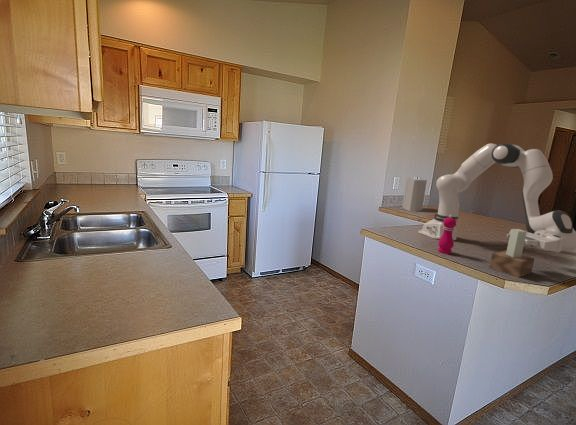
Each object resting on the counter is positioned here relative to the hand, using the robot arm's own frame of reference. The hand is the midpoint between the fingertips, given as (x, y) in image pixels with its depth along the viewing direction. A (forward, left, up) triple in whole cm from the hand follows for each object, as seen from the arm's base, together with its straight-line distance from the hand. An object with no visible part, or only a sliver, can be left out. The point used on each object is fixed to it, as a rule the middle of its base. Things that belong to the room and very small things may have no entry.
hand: (516, 238), depth 142 cm
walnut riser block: (0, 0, -15) cm, 15 cm away
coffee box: (-11, +62, -15) cm, 65 cm away
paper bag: (-121, +92, -15) cm, 153 cm away
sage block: (0, 0, -8) cm, 8 cm away
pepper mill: (-29, -5, -15) cm, 33 cm away
